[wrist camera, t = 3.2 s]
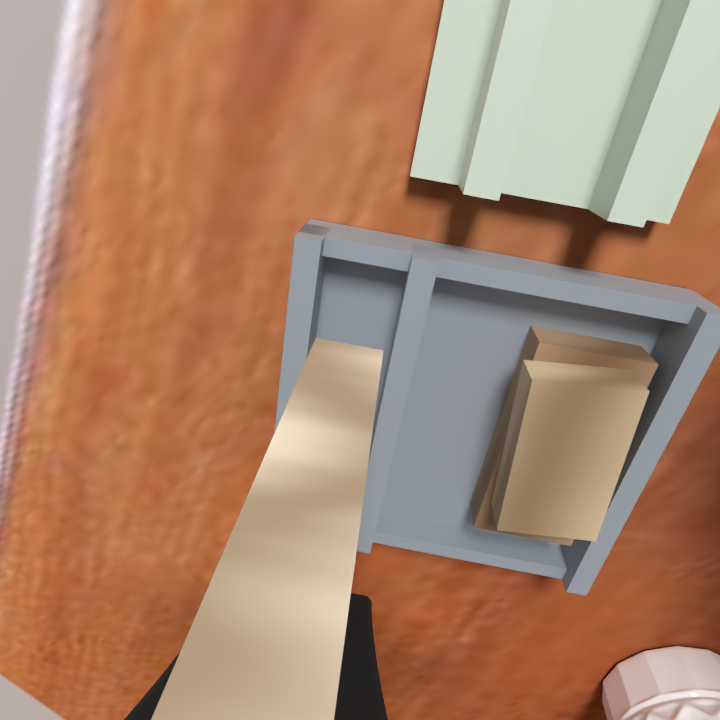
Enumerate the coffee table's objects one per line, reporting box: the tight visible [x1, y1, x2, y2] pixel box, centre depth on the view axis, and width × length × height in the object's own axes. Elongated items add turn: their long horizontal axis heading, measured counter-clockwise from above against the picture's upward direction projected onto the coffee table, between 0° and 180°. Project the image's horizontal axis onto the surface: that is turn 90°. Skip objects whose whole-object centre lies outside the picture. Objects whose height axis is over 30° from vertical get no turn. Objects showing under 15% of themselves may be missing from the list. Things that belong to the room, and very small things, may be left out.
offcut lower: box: [470, 325, 659, 546], centre depth 19 cm, size 4×8×1 cm, turn 171°
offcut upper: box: [491, 360, 650, 541], centre depth 17 cm, size 3×6×1 cm, turn 177°
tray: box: [274, 219, 720, 596], centre depth 19 cm, size 13×12×3 cm
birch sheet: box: [151, 338, 383, 720], centre depth 10 cm, size 2×10×8 cm, turn 171°
